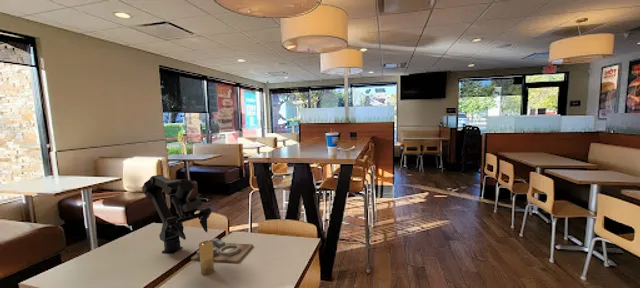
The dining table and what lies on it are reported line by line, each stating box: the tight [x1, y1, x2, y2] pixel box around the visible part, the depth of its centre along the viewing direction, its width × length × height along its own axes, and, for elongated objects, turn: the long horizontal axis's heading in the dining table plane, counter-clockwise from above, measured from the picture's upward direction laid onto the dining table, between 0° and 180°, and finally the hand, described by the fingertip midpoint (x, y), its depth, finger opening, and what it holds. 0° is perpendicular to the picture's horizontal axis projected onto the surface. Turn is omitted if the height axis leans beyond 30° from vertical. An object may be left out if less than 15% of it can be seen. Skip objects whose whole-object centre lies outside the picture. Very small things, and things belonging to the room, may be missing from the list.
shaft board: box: [190, 237, 254, 264], centre depth 128 cm, size 22×16×3 cm
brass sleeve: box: [198, 239, 215, 276], centre depth 112 cm, size 5×5×12 cm
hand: (196, 235), depth 116 cm, fingers open, 9 cm apart
